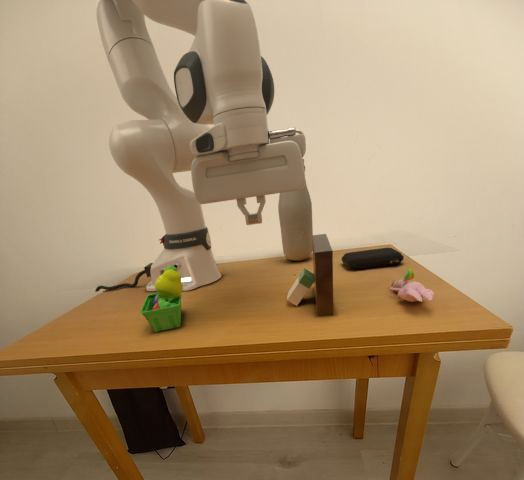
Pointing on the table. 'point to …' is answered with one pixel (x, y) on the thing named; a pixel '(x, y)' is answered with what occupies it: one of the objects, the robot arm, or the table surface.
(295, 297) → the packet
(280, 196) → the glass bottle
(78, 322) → the table surface
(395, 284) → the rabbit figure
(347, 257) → the carrying case
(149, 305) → the fruit basket
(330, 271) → the walnut board
